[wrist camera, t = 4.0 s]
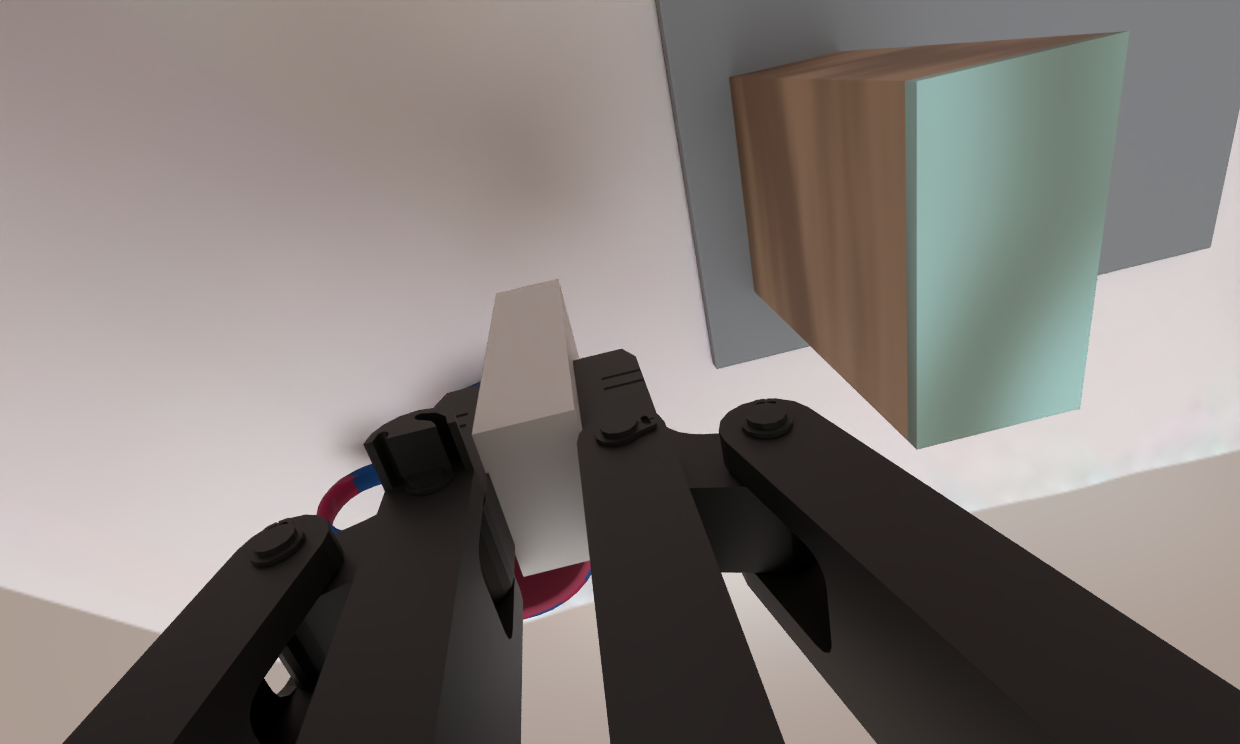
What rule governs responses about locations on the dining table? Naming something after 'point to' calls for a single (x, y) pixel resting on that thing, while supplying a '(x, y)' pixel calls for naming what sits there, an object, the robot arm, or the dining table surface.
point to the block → (936, 219)
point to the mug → (535, 589)
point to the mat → (945, 14)
